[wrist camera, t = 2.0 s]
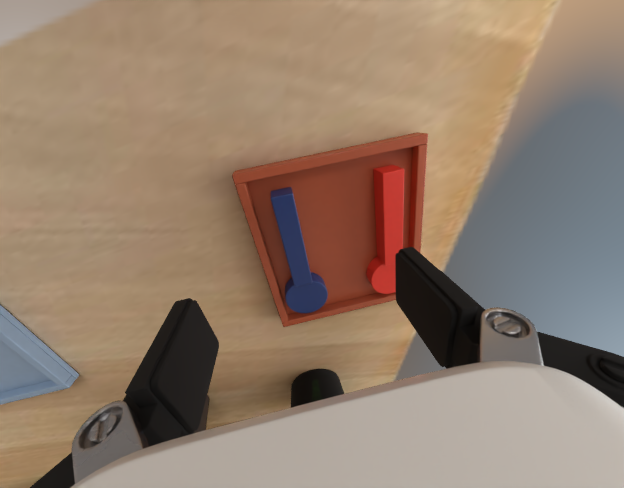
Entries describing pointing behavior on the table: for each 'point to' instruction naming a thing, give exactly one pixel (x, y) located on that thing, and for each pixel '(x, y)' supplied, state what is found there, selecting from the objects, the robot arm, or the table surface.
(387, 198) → the red spoon
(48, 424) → the table surface
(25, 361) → the blue tray
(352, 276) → the red tray
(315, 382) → the cup
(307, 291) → the blue spoon
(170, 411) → the robot arm
